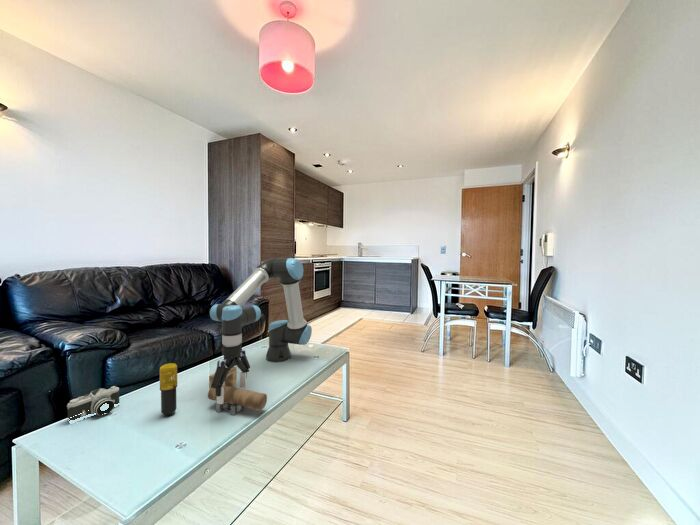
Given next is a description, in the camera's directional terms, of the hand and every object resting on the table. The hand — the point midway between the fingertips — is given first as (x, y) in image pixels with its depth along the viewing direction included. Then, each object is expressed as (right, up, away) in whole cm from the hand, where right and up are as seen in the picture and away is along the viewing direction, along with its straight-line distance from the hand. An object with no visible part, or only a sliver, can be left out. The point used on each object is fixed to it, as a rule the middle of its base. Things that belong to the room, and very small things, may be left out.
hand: (232, 394), depth 115 cm
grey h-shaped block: (0, -6, 0) cm, 6 cm away
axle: (+2, -3, 0) cm, 4 cm away
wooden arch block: (-11, -5, +16) cm, 20 cm away
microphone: (-27, -6, -4) cm, 28 cm away
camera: (-52, -6, -5) cm, 52 cm away
